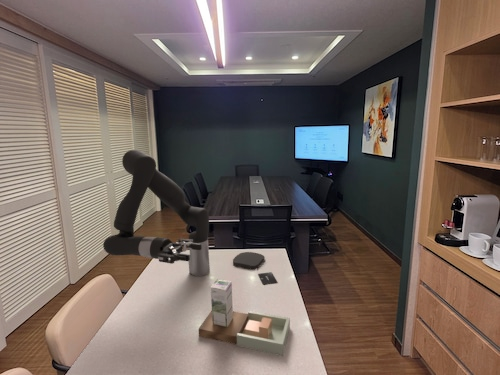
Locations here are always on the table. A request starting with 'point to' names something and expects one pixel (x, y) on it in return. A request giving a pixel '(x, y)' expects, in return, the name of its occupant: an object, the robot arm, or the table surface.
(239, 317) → the board
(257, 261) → the media streaming box
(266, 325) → the tile
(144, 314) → the table surface
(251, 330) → the tile
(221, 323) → the syrup box
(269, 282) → the solid state drive
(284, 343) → the tray
